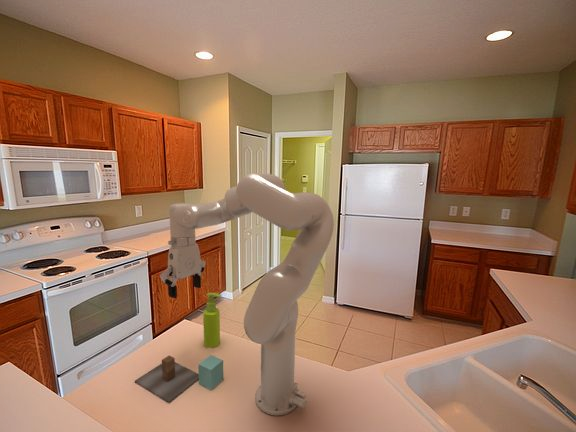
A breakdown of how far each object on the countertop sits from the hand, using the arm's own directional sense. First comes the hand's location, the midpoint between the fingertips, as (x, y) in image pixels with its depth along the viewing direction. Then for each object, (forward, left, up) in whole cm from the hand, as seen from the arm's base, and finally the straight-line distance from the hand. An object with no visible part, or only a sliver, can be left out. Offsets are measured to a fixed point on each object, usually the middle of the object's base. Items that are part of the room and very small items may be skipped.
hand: (185, 292), depth 90 cm
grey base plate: (-2, +9, -25) cm, 27 cm away
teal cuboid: (-14, +3, -25) cm, 29 cm away
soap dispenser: (0, -12, -25) cm, 28 cm away
